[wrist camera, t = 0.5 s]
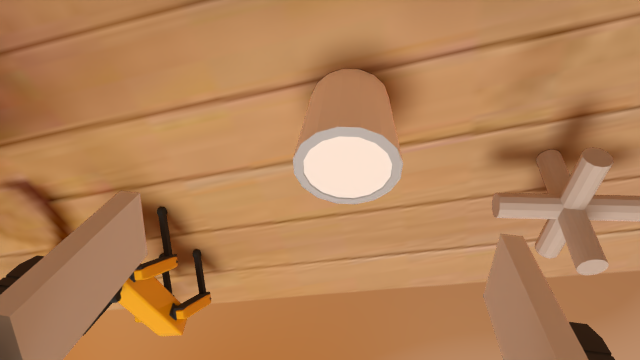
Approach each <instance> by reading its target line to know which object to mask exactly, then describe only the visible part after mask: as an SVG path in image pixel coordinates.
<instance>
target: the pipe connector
mask: <svg viewBox="0 0 640 360" xmlns="http://www.w3.org/2000/svg"><path fill="white" fill-rule="evenodd" d="M536 162H537V165H538V167H539V170H540V173H541V176H542V178H543V181H544V184H545V186H546V189H547V192H548V194H526V193H495V194H494V196H493V200H492V210H493V215H494V217H496V218H525V219H547V221H546V223H545V225H544V227H543V229H542V231H541V233H540V235H539V237H538V239H537V241H536V243H535V249H536V251H537V252H538V254H540V255H541V256H543V257H546V258H555V257H556V256H557V255H558V254H559V253H560V251H561V249H562V248H563V246H564V244H565V243H567V246H568V249H569V251H570V254H571V257H572V259H573V262H574V265H575V267H576V270H577V272H578V273H580V274H582V275H594V274H598V273H601V272H603V271H604V270H606V269H607V268H608V262H607V260H606V257H605V255H604V253H603V250H602V248H601V246H600V244H599V241H598V239H597V237H596V234H595V232H594V230H593V227H592V225H591V223H590V220H604V221H640V196H620V195H594V194H595V192H596V191H597V189H598V187H599V186H600V184H601V182H602V181H603V179H604V177H605V176H606V174H607V172H608V171H609V169H610V167H611V166H612V164H613V157H612V156H611V155H610V154H609V153H608V152H606V151H604V150H602V149H599V148H594V147H592V148H586V149H585V150H584V151H583V152H582V153H581V155H580V157H579V159H578V161H577V163H576V165H575V167H574V169H573V171H572V173H571V175H570V174H569V171H568V169H567V167H566V165H565V162H564V160H563V158H562V155H561V153H560V152H559V151H557V150H547V151H544V152H542V153H541V154H539V155H538V157H537V159H536Z"/></svg>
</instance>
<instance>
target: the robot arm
mask: <svg viewBox="0 0 640 360" xmlns="http://www.w3.org/2000/svg"><path fill="white" fill-rule="evenodd" d="M146 256H147V246H146V238H145V229H144V221H143V213H142V205H141V197H140V193H135V192H127V191H120V192H118V193H117V194H116V195H115V196H114V197H113V198H111V199H110V200H109V201H108V202H107V203H106V204H105V205H103V206H102V207H101V208H100V209H99V210H98V211H96V212H95V213H94V214H93V215H92V216H91V217H90V218H88V219H87V220H86V221H85V222H84V223H83V224H81V225H80V226H79V227H78V228H77V229H76V230H75V231H73V232H72V233H71V234H70V235H69V236H68V237H66V238H65V239H64V240H63V241H62V242H61V243H60V244H58V245H57V246H56V247H55V248H54V249H53V250H52V251H50V252H49V253H48V254H47V255H46V256H45V257H44V256H35V257H33V258H31V259H29V260H27V261H25V262H23V263H21V264H19V265H18V266H17V267H16V268H14V269H13V270H12V271H11V272H10V273H8V274H7V275H6V278H2V279H1V280H0V360H63V359H64V358H65V356H66V355H67V354H68V353H69V351H70V350H71V349H72V348H73V347H74V345H75V344H76V343H77V342H78V340H79V339H80V338H81V337H82V335H83V334H84V333H85V332H86V330H87V329H88V328H89V327H90V325H91V324H92V323H93V322H94V320H95V319H96V318H97V317H98V315H99V314H100V313H101V312H102V310H103V309H104V308H105V307H106V305H107V304H108V303H109V302H110V300H111V299H112V298H113V297H114V296H115V294H116V293H117V292H118V291H119V289H120V288H121V287H122V286H123V284H124V283H125V282H126V281H127V279H128V278H129V277H130V276H131V274H132V273H133V272H134V271H135V269H136V268H137V267H138V266H139V264H140V263H141V262H142V261H143V259H144V258H145V257H146ZM483 297H484V300H485V303H486V306H487V309H488V313H489V316H490V319H491V322H492V325H493V329H494V332H495V335H496V338H497V341H498V344H499V348H500V351H501V354H502V357H503V360H615V359H614V357H612V356H611V352H610V350H609V349H608V347H607V345H606V344H605V342H604V341H603V339H602V338H601V337H600V336H599V335H598V334H597V333H596V332H595V331H593V329H591V328H590V327H589V326H588V325H587V324H581V323H573V322H568V320H567V318H566V316H565V315H564V313H563V311H562V309H561V307H560V305H559V303H558V301H557V299H556V298H555V296H554V294H553V292H552V290H551V288H550V286H549V284H548V283H547V281H546V279H545V277H544V275H543V273H542V271H541V269H540V268H539V266H538V264H537V262H536V260H535V258H534V256H533V254H532V253H531V251H530V249H529V247H528V245H527V243H526V241H525V239H524V238H523V236H516V235H507V234H500V237H499V241H498V244H497V248H496V251H495V255H494V259H493V262H492V266H491V270H490V273H489V277H488V281H487V284H486V288H485V292H484V295H483Z"/></svg>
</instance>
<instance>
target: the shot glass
mask: <svg viewBox="0 0 640 360" xmlns="http://www.w3.org/2000/svg"><path fill="white" fill-rule="evenodd" d="M293 164H294V174H295V176H296V178H297V179H298V181H299V182H300V184H301V185H302V187H303V188H305V189H306V190H307V191H309V192H310V193H312V194H313V195H315V196H316V197H317V198H321V199H324V200H327V201H330V202H333V203H340V204H359V203H363V202H368V201H373V200H375V199H377V198H379V197H381V196H383V195H384V194H386V193H388V192H390V191H391V190H392V188H393V187H394V186H395V185H396V183H397V182H398V181H399V180H400V178H401V172H402V167H403V161H402V156H401V152H400V147H399V142H398V138H397V133H396V128H395V124H394V119H393V114H392V110H391V105H390V100H389V96H388V94H387V91H386V88H385V86H384V84H383V83H382V82H381V81H380V80H379V79H378V78H377V77H375V76H374V75H373V74H370V73H368V72H365V71H363V70H360V69H341V70H338V71H335V72H332V73H329V74H327V75H326V76H325V77H324V78H323V79H321V80H320V81H319V82H318V83H317V85H316V87H315V89H314V91H313V93H312V95H311V99H310V102H309V106H308V109H307V113H306V116H305V120H304V123H303V126H302V130H301V133H300V137H299V140H298V144H297V147H296V151H295V154H294V157H293Z"/></svg>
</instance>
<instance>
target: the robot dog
mask: <svg viewBox="0 0 640 360" xmlns="http://www.w3.org/2000/svg"><path fill="white" fill-rule="evenodd" d="M157 214H158V216H159V222H160V229H161V236H162V242H163V249H164V254H161V255H160V256H159V258H158V259H155V260H152V261H149V262H146V263H144V264H141V263H140V264H139V266H138V267H137V268H136V269H135V271H134V272H133V273H132V274H131V276H130V277H129V278H128V279H127V281H126V282H125V283H124V284H123V286H122V287H121V288H120V289H119V291H118V292H117V293H116V294H115V296H114V297H113V298H112V299H111V300H110V302H109V303H108V304H107V305H106V307H105V308H104V309H103V310H102V312H101V313H100V314H99V315H98V317H97V318H96V319H95V320H94V322H93V323H92V324H91V325H90V327H89V328H88V329H87V330H86V332H87V331H88V330H89V329H90V328H91V326H92V325H93V324H94V323H95V322H96V321H97V320H98V319H99V317H100V316H101V315H102V314H103V313H104V312H105V311H106V310H107V308H108V307H109V306H110V305H111V304H112V303H116V302H119V303H120V304H121V305H122V306H123V307H125V308H126V309H127V310H128V311H129V312H131V313H132V314H133V315H134V316H135V322H143V323H144V324H145V325H146V326H148V327H149V328H150V329H151V330H152V331H153V332H155V333H156V334H157V335H159V336H175V335H182V334H183V331H184V328H185V324H186V321H187V318H188V317H190V316H191V315H193V314H195V313H196V312H198V311H200V310H201V309H203V308H204V307H206V306H207V305H209V304H210V303H211V295H210V292H206V288H205V282H204V275H203V269H202V262H201V252H200V250H194V251H193V257H194V262H195V268H196V275H197V282H198V288H199V294H198V295H196V296H194V297H192V298H191V299H189V300H187V301H185V302H183V303H182V304H181V303H180V302H179V301H178V300H177V299H176V298H175V297H174V295H172V288H171V281H170V275H169V270H171V269H174V268H175V267H177V266H178V259H177V254H174V255H172V249H171V242H170V236H169V229H168V222H167V216H166V214H167V210H166V208H164V207H163V208H158V209H157ZM159 274H162V275H163V282H164V286H163V285H162V284H161V283H160V282H159V281H158V280H157V279H156V278H155V277H154V276H157V275H159ZM86 332H85V333H86ZM85 333H84V334H85ZM84 334H83V335H84ZM83 335H82V336H83Z"/></svg>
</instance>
